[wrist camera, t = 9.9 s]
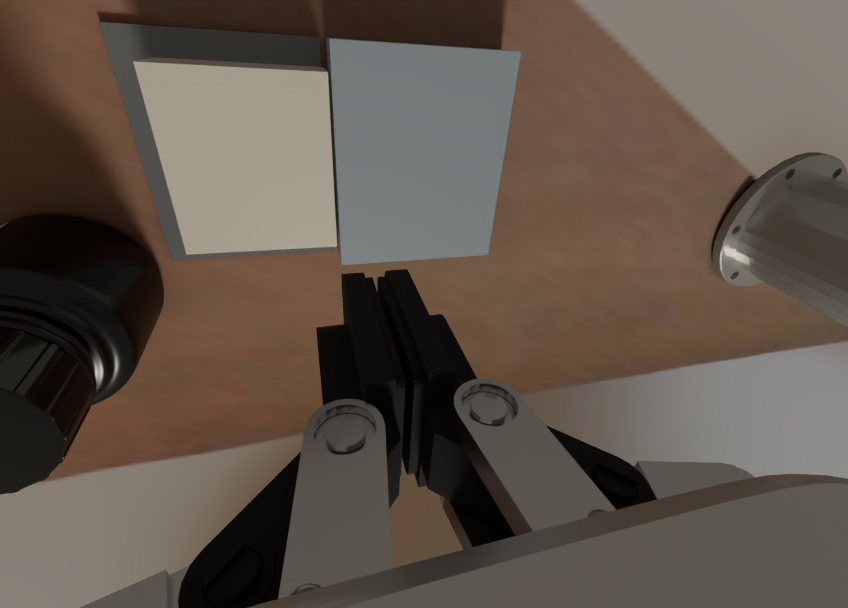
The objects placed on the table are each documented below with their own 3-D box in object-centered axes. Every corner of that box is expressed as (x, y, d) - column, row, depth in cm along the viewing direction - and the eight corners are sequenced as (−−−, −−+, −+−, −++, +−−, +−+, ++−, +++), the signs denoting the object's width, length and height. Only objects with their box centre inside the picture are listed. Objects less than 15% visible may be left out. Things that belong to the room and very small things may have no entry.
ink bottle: (-51, 195, 21) (-342, 342, 11) (151, 207, 23) (58, 333, 14) (16, 347, 26) (-145, 537, 16) (176, 342, 28) (120, 502, 19)
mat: (319, 37, 21) (319, 37, 21) (333, 248, 28) (333, 250, 27) (100, 21, 19) (98, 21, 18) (172, 257, 25) (171, 259, 25)
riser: (501, 49, 24) (521, 51, 22) (474, 239, 30) (487, 254, 28) (325, 37, 21) (329, 38, 19) (337, 247, 28) (341, 265, 26)
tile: (323, 67, 22) (327, 72, 19) (332, 226, 27) (337, 246, 24) (151, 57, 20) (133, 61, 17) (196, 232, 24) (186, 254, 22)
